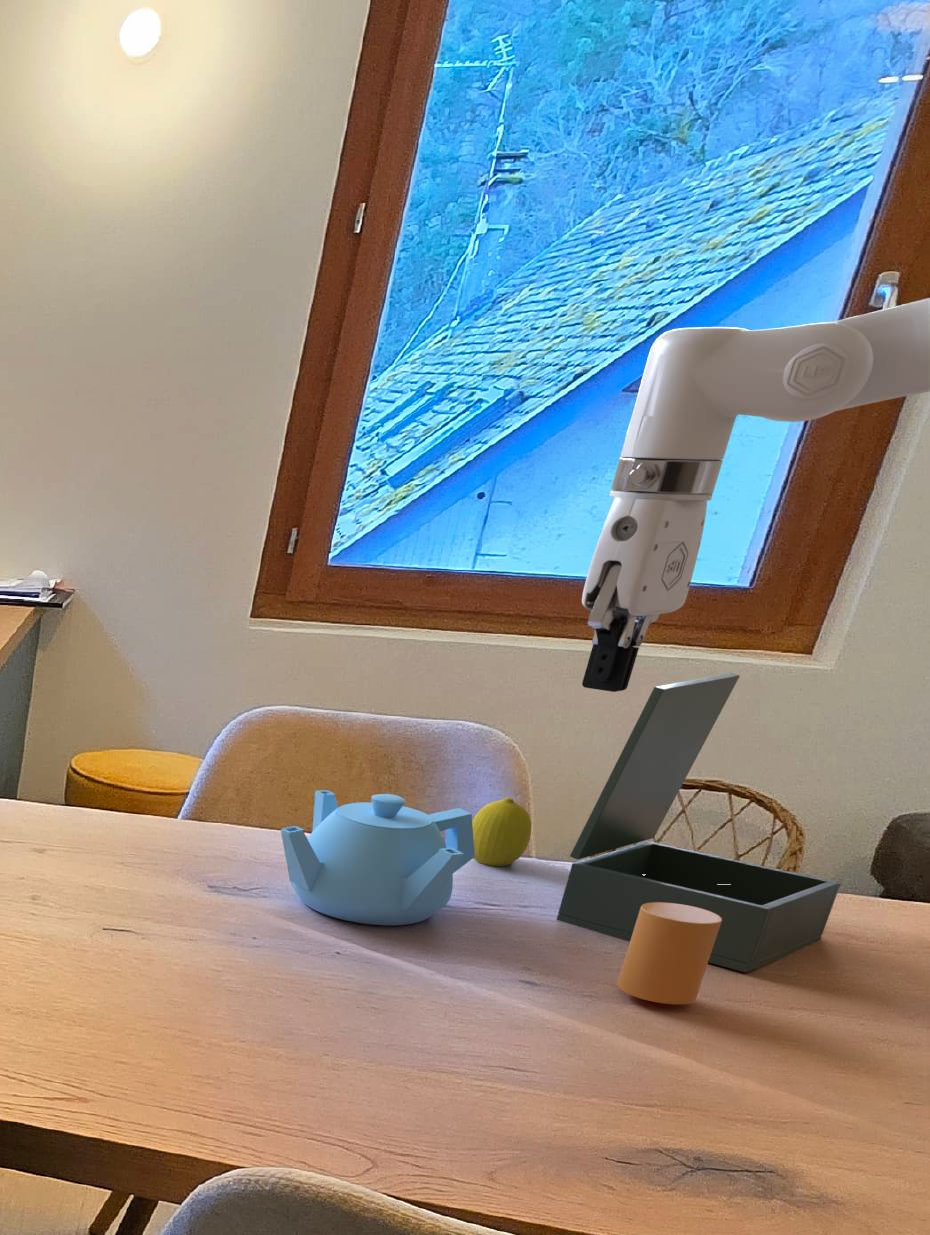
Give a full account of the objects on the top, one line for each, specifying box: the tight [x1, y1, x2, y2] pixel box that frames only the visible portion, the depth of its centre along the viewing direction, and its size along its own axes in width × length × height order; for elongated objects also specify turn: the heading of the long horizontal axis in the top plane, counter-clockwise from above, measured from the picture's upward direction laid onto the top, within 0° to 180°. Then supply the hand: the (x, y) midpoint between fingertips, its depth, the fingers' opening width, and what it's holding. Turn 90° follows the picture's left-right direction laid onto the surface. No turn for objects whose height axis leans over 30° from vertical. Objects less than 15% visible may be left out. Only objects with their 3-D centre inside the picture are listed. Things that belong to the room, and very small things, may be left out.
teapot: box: [280, 789, 475, 926], centre depth 135 cm, size 15×15×11 cm
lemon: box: [472, 796, 532, 867], centre depth 147 cm, size 6×6×8 cm
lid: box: [569, 672, 741, 861], centre depth 131 cm, size 16×15×1 cm
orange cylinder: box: [616, 902, 722, 1005], centre depth 116 cm, size 5×5×7 cm
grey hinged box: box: [556, 840, 842, 974], centre depth 130 cm, size 16×15×6 cm
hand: (603, 688), depth 133 cm, fingers closed
